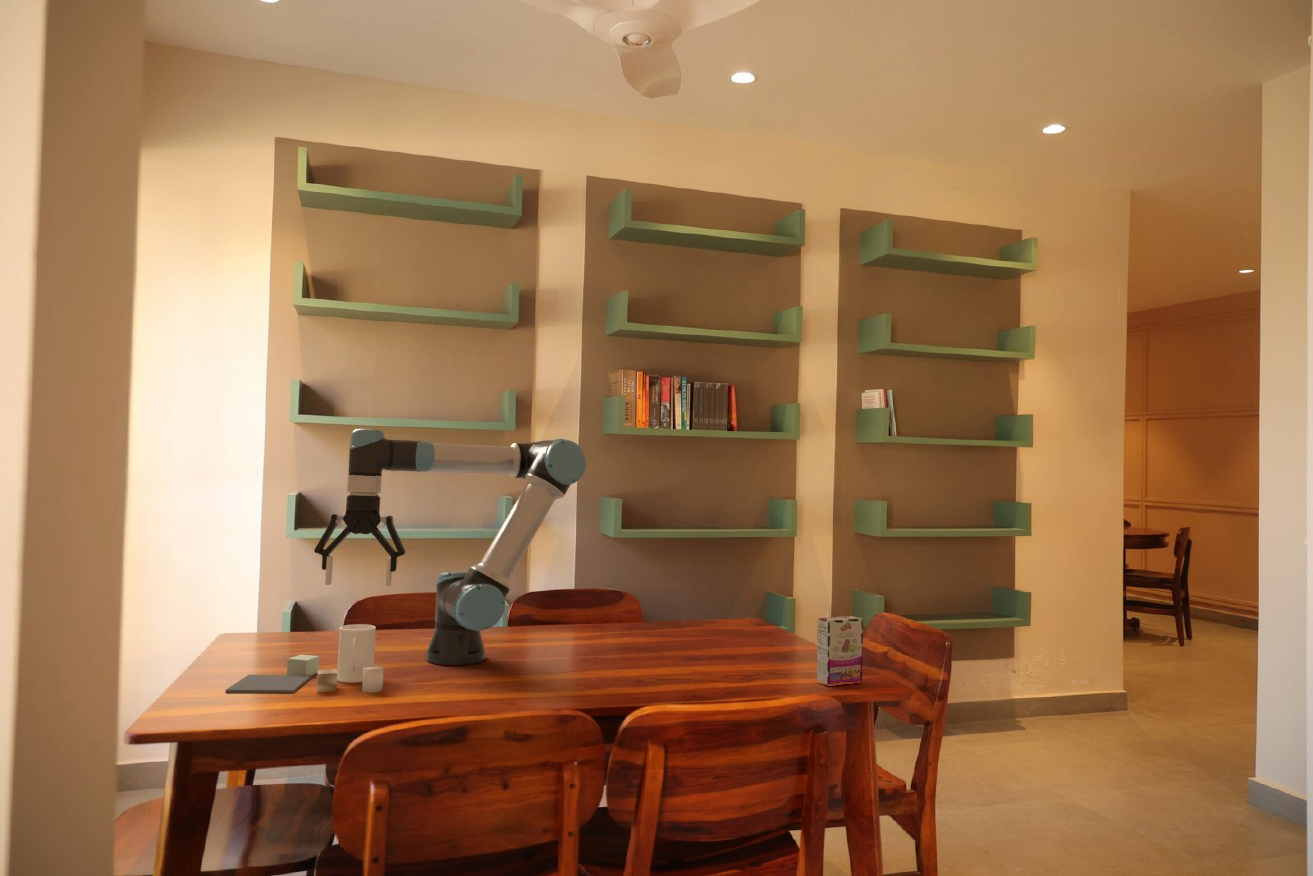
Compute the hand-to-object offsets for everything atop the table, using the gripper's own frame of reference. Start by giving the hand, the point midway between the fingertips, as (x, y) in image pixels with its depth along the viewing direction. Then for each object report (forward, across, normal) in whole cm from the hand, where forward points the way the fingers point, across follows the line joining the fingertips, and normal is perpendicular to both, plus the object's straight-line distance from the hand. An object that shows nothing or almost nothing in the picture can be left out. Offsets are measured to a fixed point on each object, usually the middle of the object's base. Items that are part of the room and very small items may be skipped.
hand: (358, 585), depth 196 cm
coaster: (+22, +17, +5) cm, 28 cm away
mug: (+22, 0, 0) cm, 22 cm away
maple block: (+22, +4, +8) cm, 24 cm away
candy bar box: (+22, -118, 0) cm, 120 cm away
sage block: (+22, +13, -6) cm, 26 cm away
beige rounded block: (+22, -6, +9) cm, 25 cm away
